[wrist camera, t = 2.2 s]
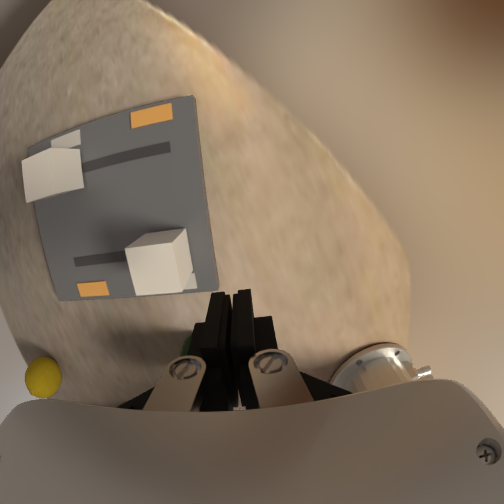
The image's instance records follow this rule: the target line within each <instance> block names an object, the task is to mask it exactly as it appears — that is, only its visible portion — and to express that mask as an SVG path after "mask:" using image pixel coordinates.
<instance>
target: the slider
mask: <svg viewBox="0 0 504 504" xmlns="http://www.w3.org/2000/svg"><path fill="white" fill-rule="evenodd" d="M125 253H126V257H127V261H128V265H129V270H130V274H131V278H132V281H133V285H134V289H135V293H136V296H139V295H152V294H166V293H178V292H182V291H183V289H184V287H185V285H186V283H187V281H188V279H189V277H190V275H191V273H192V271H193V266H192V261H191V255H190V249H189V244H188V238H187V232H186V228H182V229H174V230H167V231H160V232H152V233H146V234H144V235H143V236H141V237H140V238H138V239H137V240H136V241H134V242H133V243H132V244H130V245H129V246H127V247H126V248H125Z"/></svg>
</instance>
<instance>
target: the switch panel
mask: <svg viewBox="0 0 504 504" xmlns="http://www.w3.org/2000/svg"><path fill="white" fill-rule="evenodd" d="M49 148H68V149H80V157H81V167H82V175H83V183H84V188H81V189H78V190H74V191H71V192H67V193H64V194H60V195H57V196H53V197H49V198H45V199H40V200H37V201H34V204H35V210H36V216H37V221H38V226H39V231H40V236H41V240H42V244H43V248H44V252H45V256H46V260H47V264H48V267H49V271H50V274H51V278H52V281H53V284H54V287H55V290H56V293H57V296H58V299H59V301H72V300H94V299H113V298H129V297H144V296H158V295H171V294H183V293H195V292H206V291H217V290H218V289H219V278H218V272H217V265H216V259H215V252H214V246H213V239H212V232H211V225H210V218H209V211H208V203H207V196H206V188H205V180H204V172H203V164H202V155H201V146H200V137H199V128H198V118H197V108H196V99H195V97H194V96H193V95H191V96H186V97H181V98H176V99H171V100H166V101H162V102H157V103H153V104H149V105H145V106H141V107H137V108H134V109H130V110H127V111H123V112H120V113H116V114H113V115H110V116H107V117H104V118H101V119H98V120H95V121H92V122H89V123H86V124H83V125H81V126H78V127H75V128H73V129H70V130H68V131H65V132H63V133H60V134H58V135H56V136H53V137H51V138H49V139H46V140H44V141H42V142H40V143H38V144H36V145H33V146H31V147H29V148H28V149H29V157H31V156H33V155H35V154H37V153H40V152H42V151H44V150H47V149H49ZM182 228H186V232H187V238H188V244H189V249H190V255H191V261H192V266H193V271H192V273H191V275H190V277H189V279H188V281H187V283H186V285H185V287H184V289H183V291H182V292H178V293H166V294H152V295H139V296H136V293H135V289H134V285H133V281H132V278H131V274H130V270H129V265H128V261H127V257H126V253H125V248H126V247H127V246H129V245H130V244H132V243H133V242H134V241H136V240H137V239H138V238H140V237H141V236H143V235H144V234H146V233H152V232H160V231H167V230H174V229H182Z"/></svg>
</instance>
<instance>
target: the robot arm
mask: <svg viewBox="0 0 504 504" xmlns="http://www.w3.org/2000/svg"><path fill="white" fill-rule="evenodd" d="M412 365H413V364H412V358H411V356H410V354H409V353H408V352H407V350H406V349H405V348H403V347H402V346H400V345H397V344H392V343H385V344H378V345H374V346H371V347H369V348H366V349H364V350H362V351H360V352H358V353H356V354H355V355H353V356H352V357H351V358H349V359H348V360H347V361H346V362H344V363H343V364H342V365H341V366H340V367H339V369H338V370H337V371H336V372H335V374H334V375H333V377H332V379H331V381H330V384H329V383H327V382H324V381H322V380H319V379H317V378H314V377H312V376H309V375H307V374H305V373H302V372H300V371H299V370H298V368H297V366H296V364H295V362H294V360H293V358H292V357H291V356H290V354H289V353H287V352H285V351H283V350H279V349H278V347H277V342H276V337H275V331H274V326H273V321H272V316H266V317H257V318H254V313H253V305H252V297H251V289H245V290H238V294H233V307H232V305H231V299H230V295H225V292H216V293H212V294H211V298H210V302H209V307H208V312H207V316H206V321H205V322H203V323H195V326H194V330H193V333H192V337H191V341H190V345H189V348H188V352H187V356H182V357H178V358H176V359H174V360H172V361H171V362H170V363H169V364H168V365H167V366H166V368H165V369H164V371H163V373H162V375H161V377H160V379H159V380H158V382H157V384H156V386H155V387H153V388H152V389H150V390H148V391H146V392H144V393H143V394H141V395H139V396H137V397H135V398H133V399H132V400H130V401H128V402H126V403H124V404H122V405H120V406H119V407H117V408H113V407H105V406H98V405H91V404H84V403H77V402H70V401H64V400H53V399H39V400H31V401H27V402H24V403H21V404H19V405H17V406H16V407H15V408H14V409H13V410H12V411H11V412H10V413H9V414H8V415H7V417H6V418H5V419H4V421H3V422H2V423H1V425H0V504H504V429H503V427H502V426H501V424H500V423H499V422H498V421H497V419H496V418H495V417H494V415H493V414H492V413H491V411H490V410H489V409H488V408H487V407H486V405H485V404H484V403H483V402H482V401H481V400H480V399H479V398H478V397H477V396H476V395H475V394H474V393H473V392H472V391H471V390H469V389H468V388H467V387H465V386H464V385H463V384H461V383H459V382H456V381H453V380H448V379H433V376H432V375H431V374H430V373H431V368H430V366H425V367H422V368H420V369H418V370H416V369H415V368H413V367H412ZM419 377H420V378H419ZM238 389H239V394H240V398H241V403H242V407H244V406H246V410H236V411H233V407H238Z"/></svg>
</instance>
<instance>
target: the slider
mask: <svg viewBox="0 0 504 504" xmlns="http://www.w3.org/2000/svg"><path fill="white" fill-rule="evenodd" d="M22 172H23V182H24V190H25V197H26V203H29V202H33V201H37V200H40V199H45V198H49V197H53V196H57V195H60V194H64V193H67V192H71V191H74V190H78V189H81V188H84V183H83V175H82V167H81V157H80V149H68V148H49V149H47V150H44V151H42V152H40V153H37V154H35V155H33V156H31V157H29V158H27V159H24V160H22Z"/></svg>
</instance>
